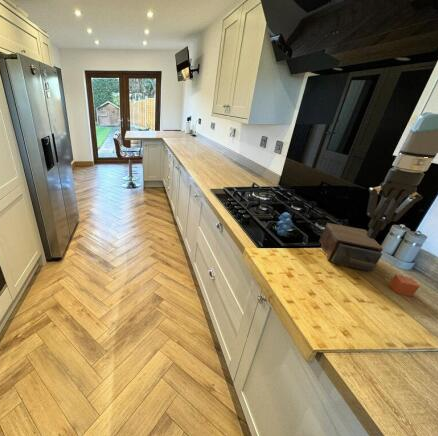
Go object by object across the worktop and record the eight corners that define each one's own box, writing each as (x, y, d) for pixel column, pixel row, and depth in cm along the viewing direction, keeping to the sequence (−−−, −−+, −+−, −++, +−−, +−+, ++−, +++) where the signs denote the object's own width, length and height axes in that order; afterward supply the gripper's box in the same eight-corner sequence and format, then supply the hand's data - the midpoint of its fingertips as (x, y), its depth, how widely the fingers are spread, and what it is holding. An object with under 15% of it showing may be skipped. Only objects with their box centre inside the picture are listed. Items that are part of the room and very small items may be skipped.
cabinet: (370, 270, 89) (383, 248, 84) (327, 260, 93) (337, 239, 89) (355, 249, 102) (365, 229, 98) (318, 241, 106) (327, 222, 102)
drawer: (378, 280, 82) (389, 262, 79) (335, 270, 86) (345, 252, 83) (357, 251, 99) (366, 235, 95) (322, 243, 103) (329, 228, 99)
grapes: (293, 243, 104) (302, 219, 98) (276, 240, 105) (285, 216, 100) (286, 231, 114) (295, 208, 109) (271, 228, 115) (279, 206, 110)
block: (404, 288, 81) (412, 277, 79) (412, 297, 77) (420, 286, 75) (388, 284, 82) (395, 274, 80) (394, 292, 78) (402, 282, 76)
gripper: (386, 169, 70) (351, 237, 80) (444, 176, 65) (399, 246, 76) (375, 164, 76) (344, 227, 86) (428, 170, 72) (388, 236, 82)
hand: (370, 236), depth 81 cm, fingers closed
